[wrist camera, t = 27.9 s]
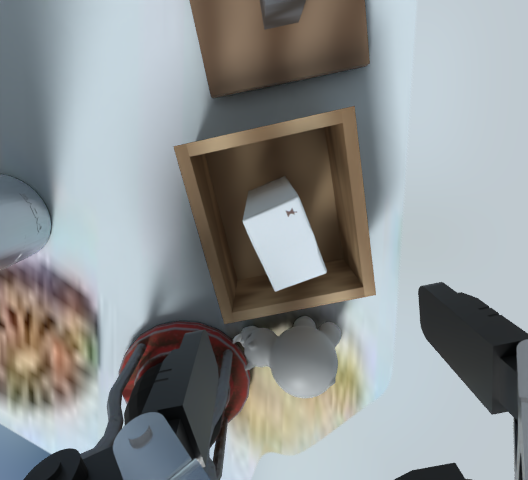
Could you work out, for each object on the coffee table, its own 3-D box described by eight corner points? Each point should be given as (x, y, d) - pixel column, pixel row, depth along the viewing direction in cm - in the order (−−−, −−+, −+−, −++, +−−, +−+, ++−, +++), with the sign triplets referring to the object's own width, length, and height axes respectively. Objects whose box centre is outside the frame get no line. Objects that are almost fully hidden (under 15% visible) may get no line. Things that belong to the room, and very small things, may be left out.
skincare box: (246, 191, 32) (239, 218, 21) (285, 174, 32) (300, 193, 20) (269, 242, 34) (274, 294, 22) (306, 228, 33) (330, 273, 22)
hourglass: (97, 369, 40) (-150, 714, 16) (189, 295, 37) (58, 580, 13) (185, 442, 43) (96, 809, 20) (275, 380, 40) (299, 723, 17)
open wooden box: (231, 285, 36) (224, 324, 29) (194, 145, 32) (173, 146, 24) (350, 262, 36) (376, 294, 28) (330, 114, 31) (354, 105, 23)
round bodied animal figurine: (253, 292, 40) (221, 324, 32) (349, 320, 36) (339, 363, 28) (247, 341, 42) (216, 382, 34) (337, 372, 38) (325, 426, 30)
